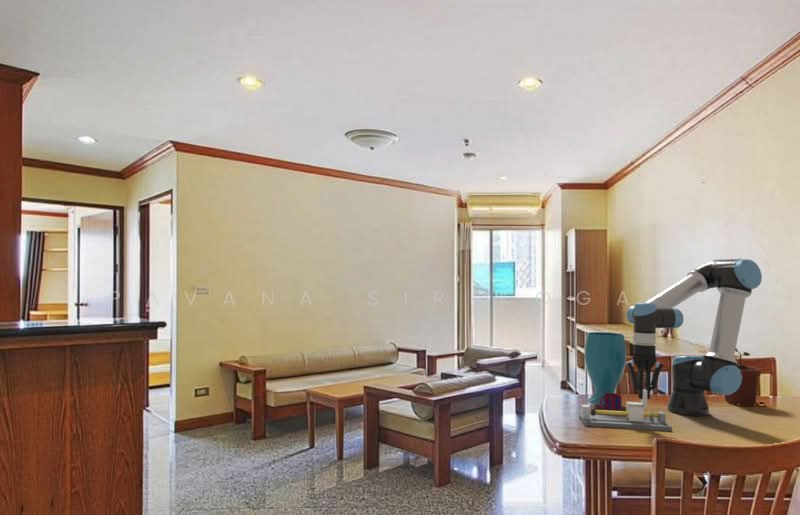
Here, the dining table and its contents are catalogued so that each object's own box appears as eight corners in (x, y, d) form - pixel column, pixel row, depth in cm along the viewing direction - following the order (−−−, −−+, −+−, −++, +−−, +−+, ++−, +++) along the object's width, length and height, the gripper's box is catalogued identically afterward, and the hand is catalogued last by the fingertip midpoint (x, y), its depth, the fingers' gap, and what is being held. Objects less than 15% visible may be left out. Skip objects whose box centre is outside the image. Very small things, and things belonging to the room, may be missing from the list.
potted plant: (708, 400, 248) (708, 345, 249) (738, 396, 258) (738, 343, 259) (747, 409, 232) (747, 350, 233) (777, 404, 242) (777, 348, 243)
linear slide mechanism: (661, 422, 207) (661, 406, 207) (671, 431, 195) (671, 414, 195) (579, 417, 211) (579, 402, 211) (585, 425, 199) (585, 409, 200)
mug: (624, 413, 220) (625, 396, 221) (604, 414, 217) (605, 397, 217) (613, 409, 227) (613, 392, 227) (593, 410, 223) (593, 394, 224)
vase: (586, 405, 233) (587, 335, 234) (582, 396, 250) (582, 331, 251) (629, 408, 229) (629, 336, 230) (621, 399, 246) (622, 332, 247)
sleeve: (640, 418, 204) (640, 402, 205) (643, 421, 200) (643, 404, 200) (626, 417, 205) (626, 401, 205) (629, 421, 201) (629, 404, 201)
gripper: (659, 343, 206) (659, 406, 205) (623, 342, 208) (623, 404, 207) (666, 346, 198) (665, 411, 197) (628, 344, 200) (628, 409, 199)
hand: (644, 407), depth 202 cm, fingers closed
